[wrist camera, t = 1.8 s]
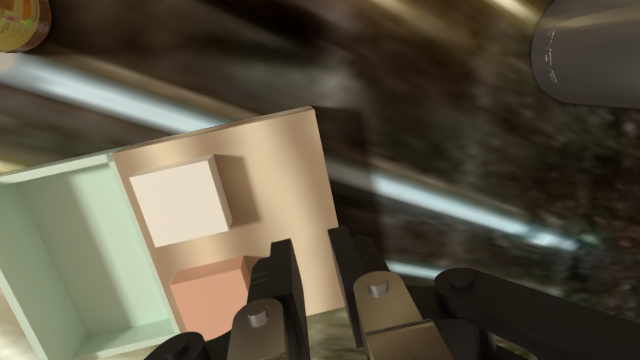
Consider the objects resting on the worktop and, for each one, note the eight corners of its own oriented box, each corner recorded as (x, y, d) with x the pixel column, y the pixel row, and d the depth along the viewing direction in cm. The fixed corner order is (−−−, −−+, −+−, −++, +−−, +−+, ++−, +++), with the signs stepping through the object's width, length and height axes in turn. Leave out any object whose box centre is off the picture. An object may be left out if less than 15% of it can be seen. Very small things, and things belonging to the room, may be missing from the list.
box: (131, 144, 28) (99, 157, 23) (193, 314, 32) (177, 355, 27) (7, 171, 27) (-52, 191, 22) (87, 340, 32) (53, 386, 27)
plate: (310, 105, 28) (314, 109, 24) (346, 278, 33) (354, 304, 29) (135, 143, 28) (111, 153, 24) (196, 313, 32) (185, 345, 28)
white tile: (213, 154, 25) (207, 160, 23) (232, 219, 26) (228, 230, 24) (141, 170, 24) (129, 177, 22) (165, 235, 26) (155, 247, 24)
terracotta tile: (243, 255, 27) (240, 269, 25) (259, 310, 28) (258, 327, 26) (177, 270, 27) (169, 285, 25) (198, 325, 28) (191, 343, 26)
